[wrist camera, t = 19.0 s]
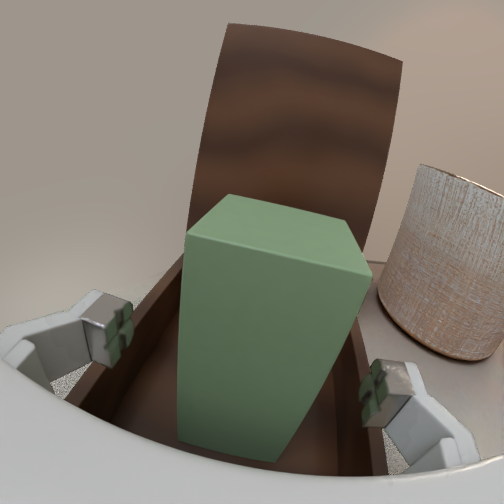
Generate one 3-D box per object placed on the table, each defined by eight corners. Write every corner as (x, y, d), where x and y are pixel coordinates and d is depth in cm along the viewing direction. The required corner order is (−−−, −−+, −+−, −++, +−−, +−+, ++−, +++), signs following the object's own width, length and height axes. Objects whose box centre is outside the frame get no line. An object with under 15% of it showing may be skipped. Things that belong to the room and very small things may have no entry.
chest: (345, 531, 8) (392, 508, 6) (74, 466, 9) (44, 426, 7) (332, 329, 24) (349, 288, 23) (181, 294, 25) (185, 250, 23)
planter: (507, 380, 18) (579, 244, 12) (371, 340, 24) (437, 165, 17) (473, 303, 34) (512, 207, 27) (374, 267, 39) (408, 161, 33)
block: (177, 440, 12) (185, 232, 7) (202, 375, 16) (228, 193, 12) (275, 463, 12) (374, 275, 7) (283, 393, 16) (345, 220, 12)
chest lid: (403, 61, 16) (386, 75, 20) (227, 22, 17) (237, 42, 21) (351, 285, 22) (343, 266, 26) (183, 247, 23) (199, 233, 27)
